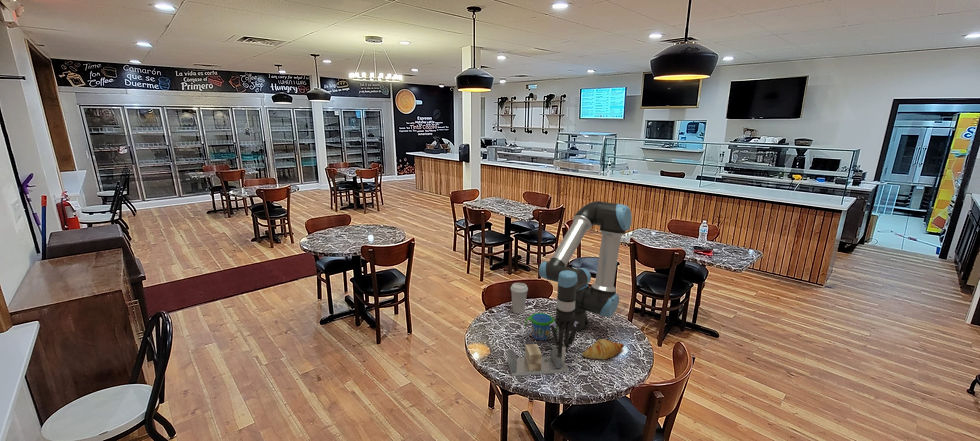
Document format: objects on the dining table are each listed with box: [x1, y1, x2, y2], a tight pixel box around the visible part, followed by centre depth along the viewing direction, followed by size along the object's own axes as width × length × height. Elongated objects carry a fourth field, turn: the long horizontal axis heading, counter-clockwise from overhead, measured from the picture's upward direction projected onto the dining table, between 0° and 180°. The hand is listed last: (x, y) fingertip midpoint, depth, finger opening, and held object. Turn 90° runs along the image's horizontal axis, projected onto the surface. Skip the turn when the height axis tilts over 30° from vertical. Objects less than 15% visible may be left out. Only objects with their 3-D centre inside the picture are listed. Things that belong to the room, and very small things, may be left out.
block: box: [524, 343, 543, 370], centre depth 170 cm, size 5×8×7 cm, turn 8°
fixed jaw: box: [507, 348, 517, 373], centre depth 169 cm, size 2×9×5 cm, turn 8°
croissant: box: [582, 338, 625, 360], centre depth 182 cm, size 21×10×8 cm, turn 111°
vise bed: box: [506, 355, 569, 377], centre depth 172 cm, size 24×10×2 cm, turn 98°
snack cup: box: [524, 312, 559, 341], centre depth 195 cm, size 16×10×10 cm
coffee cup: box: [510, 282, 529, 315], centre depth 221 cm, size 10×10×15 cm
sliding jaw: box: [544, 345, 562, 368], centre depth 173 cm, size 6×11×5 cm, turn 8°
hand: (562, 359), depth 173 cm, fingers closed
